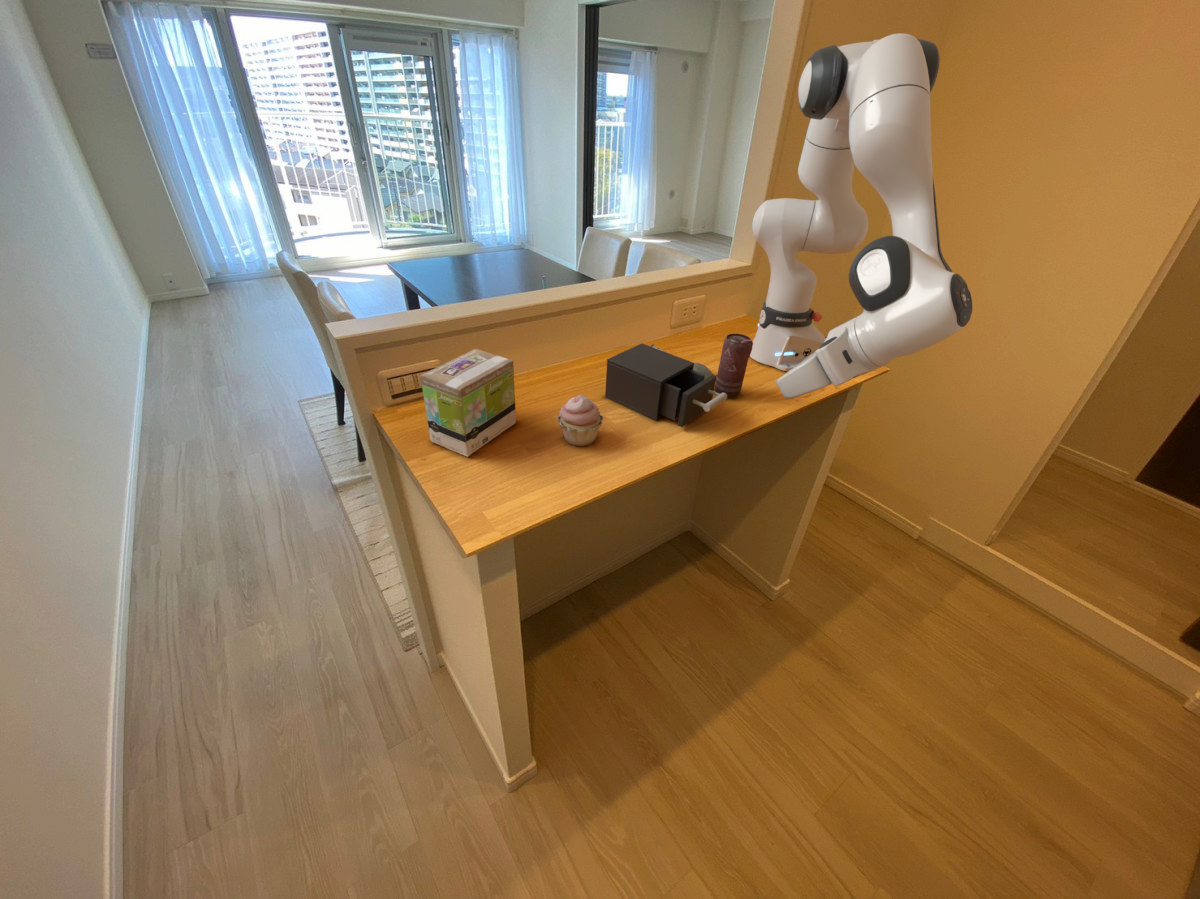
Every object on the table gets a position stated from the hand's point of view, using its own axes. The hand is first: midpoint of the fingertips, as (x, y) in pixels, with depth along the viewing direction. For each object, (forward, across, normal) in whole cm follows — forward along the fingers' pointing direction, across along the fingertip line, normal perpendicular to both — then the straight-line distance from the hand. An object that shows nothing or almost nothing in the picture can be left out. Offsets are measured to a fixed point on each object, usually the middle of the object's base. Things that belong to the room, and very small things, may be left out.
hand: (780, 382), depth 90 cm
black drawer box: (+31, 0, -10) cm, 32 cm away
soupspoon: (+35, -21, -13) cm, 42 cm away
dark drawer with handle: (+24, 0, -4) cm, 24 cm away
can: (+23, -16, -1) cm, 28 cm away
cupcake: (+31, +23, -10) cm, 40 cm away
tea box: (+43, +36, -21) cm, 60 cm away
